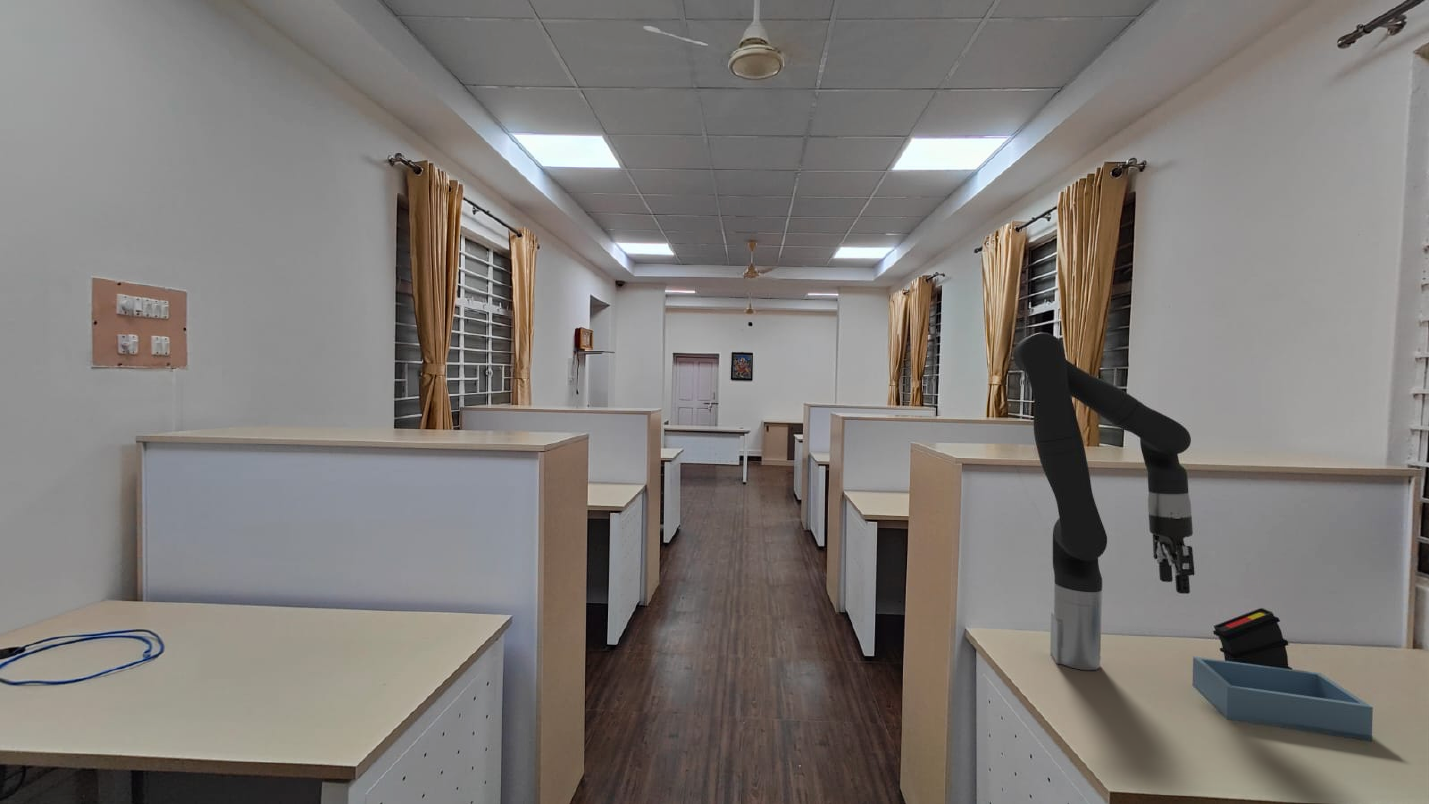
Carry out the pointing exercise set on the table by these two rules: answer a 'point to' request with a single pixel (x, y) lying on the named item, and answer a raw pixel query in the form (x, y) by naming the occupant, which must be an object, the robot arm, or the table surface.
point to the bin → (1282, 698)
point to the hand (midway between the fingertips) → (1174, 587)
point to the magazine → (1253, 639)
